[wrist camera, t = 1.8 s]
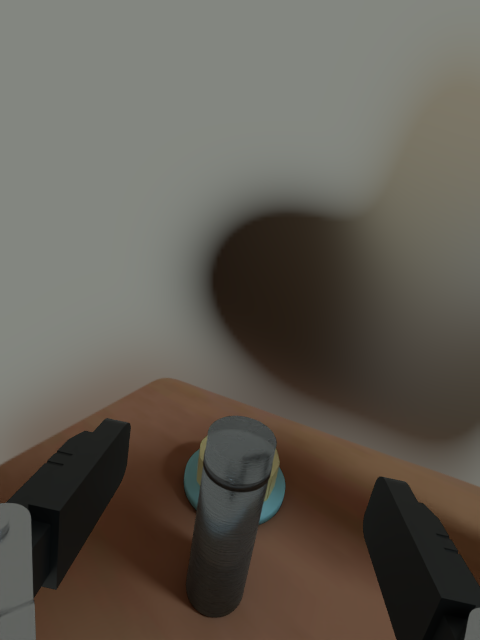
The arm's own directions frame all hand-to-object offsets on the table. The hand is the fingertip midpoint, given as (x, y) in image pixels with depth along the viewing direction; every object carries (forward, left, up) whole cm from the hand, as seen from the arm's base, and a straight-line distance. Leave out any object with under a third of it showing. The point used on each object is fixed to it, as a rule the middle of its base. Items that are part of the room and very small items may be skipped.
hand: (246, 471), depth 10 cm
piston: (-6, -8, -20) cm, 23 cm away
